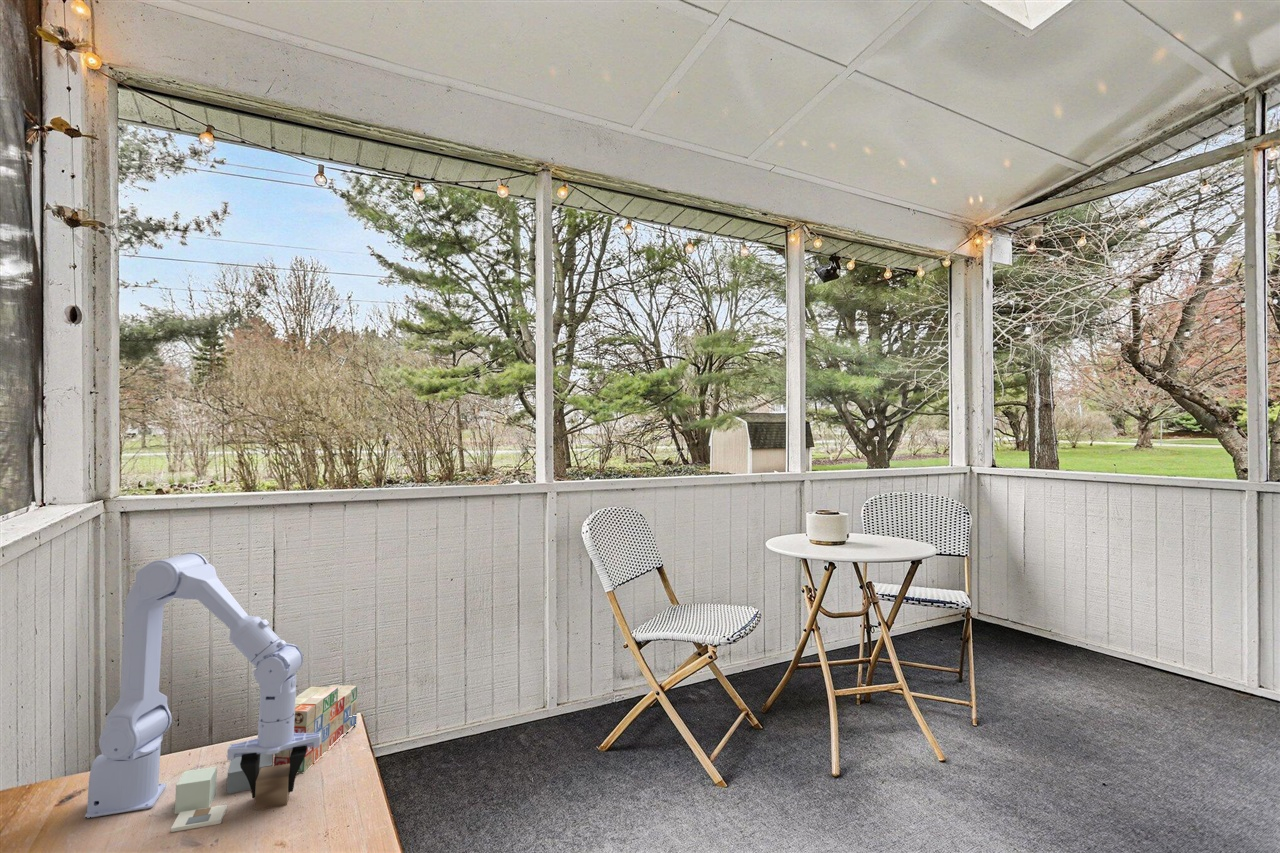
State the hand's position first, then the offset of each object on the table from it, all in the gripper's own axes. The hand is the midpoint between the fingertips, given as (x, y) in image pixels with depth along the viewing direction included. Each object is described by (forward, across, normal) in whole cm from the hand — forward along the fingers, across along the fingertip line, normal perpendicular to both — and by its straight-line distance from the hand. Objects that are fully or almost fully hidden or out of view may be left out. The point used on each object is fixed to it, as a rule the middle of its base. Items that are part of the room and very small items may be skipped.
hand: (273, 792), depth 112 cm
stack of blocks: (+2, +6, +20) cm, 20 cm away
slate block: (+2, -5, +9) cm, 10 cm away
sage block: (+2, -12, +4) cm, 13 cm away
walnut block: (+1, 0, 0) cm, 1 cm away
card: (+1, -10, -2) cm, 11 cm away
